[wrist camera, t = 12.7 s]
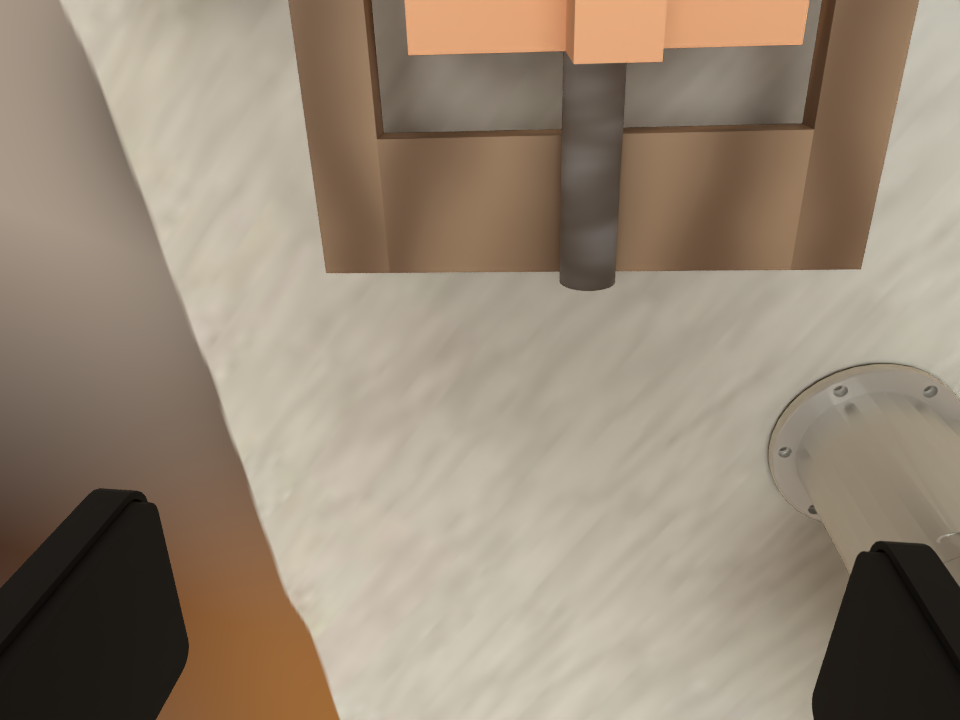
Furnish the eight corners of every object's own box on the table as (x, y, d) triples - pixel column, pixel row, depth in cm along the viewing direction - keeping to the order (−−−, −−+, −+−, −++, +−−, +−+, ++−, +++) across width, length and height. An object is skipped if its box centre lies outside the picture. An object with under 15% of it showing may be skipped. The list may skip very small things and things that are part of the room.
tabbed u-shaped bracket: (740, -44, 33) (908, -70, 19) (732, 28, 35) (881, 56, 20) (428, -33, 34) (354, -49, 20) (432, 36, 36) (365, 69, 21)
